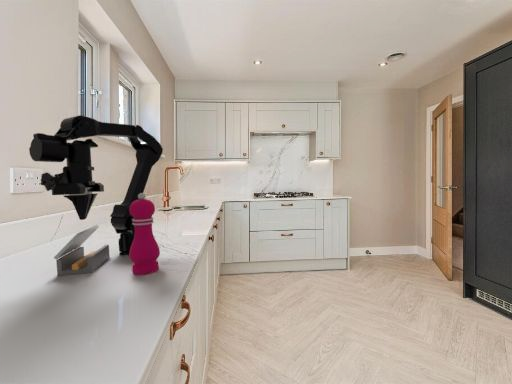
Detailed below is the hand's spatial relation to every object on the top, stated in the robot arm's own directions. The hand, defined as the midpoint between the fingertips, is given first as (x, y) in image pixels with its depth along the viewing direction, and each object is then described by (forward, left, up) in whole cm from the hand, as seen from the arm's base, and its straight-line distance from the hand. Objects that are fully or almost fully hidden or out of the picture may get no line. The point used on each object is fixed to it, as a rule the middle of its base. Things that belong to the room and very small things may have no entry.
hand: (82, 219), depth 76 cm
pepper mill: (-18, +10, -13) cm, 24 cm away
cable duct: (0, 0, -13) cm, 13 cm away
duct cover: (+1, 0, -6) cm, 6 cm away
